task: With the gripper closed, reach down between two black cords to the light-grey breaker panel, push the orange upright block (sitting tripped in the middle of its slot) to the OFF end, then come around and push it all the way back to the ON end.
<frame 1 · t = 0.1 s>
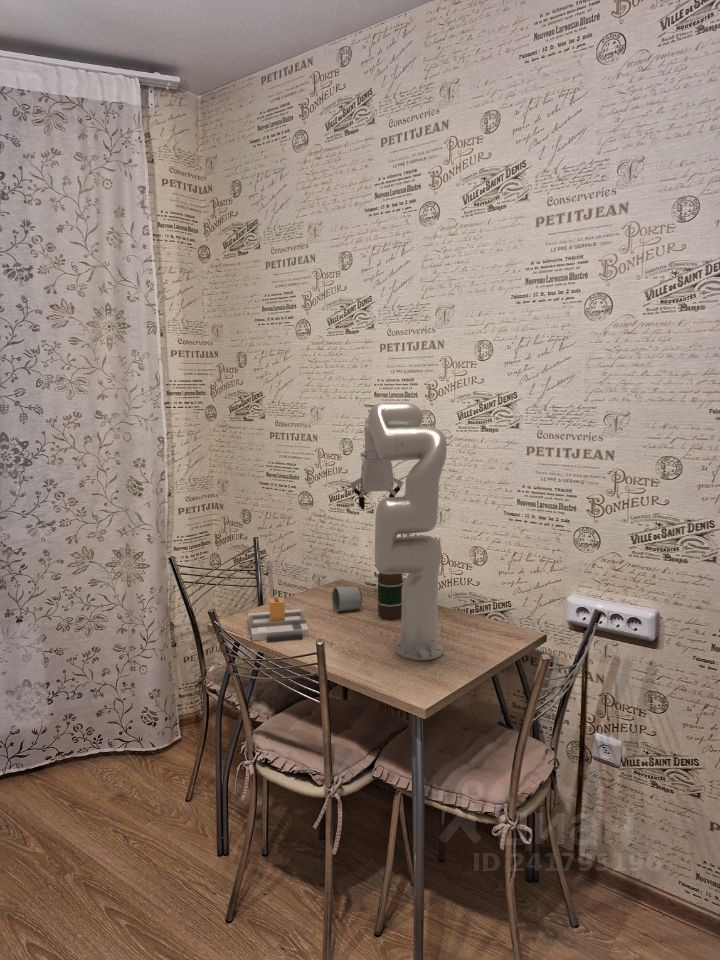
hand: (376, 508, 222), 31 cm above the table, fingers open, 9 cm apart
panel: (277, 627, 202), on the table
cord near: (284, 640, 192), on the table
orange upright block: (276, 609, 201), point 5 cm above the table, slide at 0.0 cm
ceramic mug: (345, 609, 219), on the table
beer bottle: (390, 617, 211), on the table
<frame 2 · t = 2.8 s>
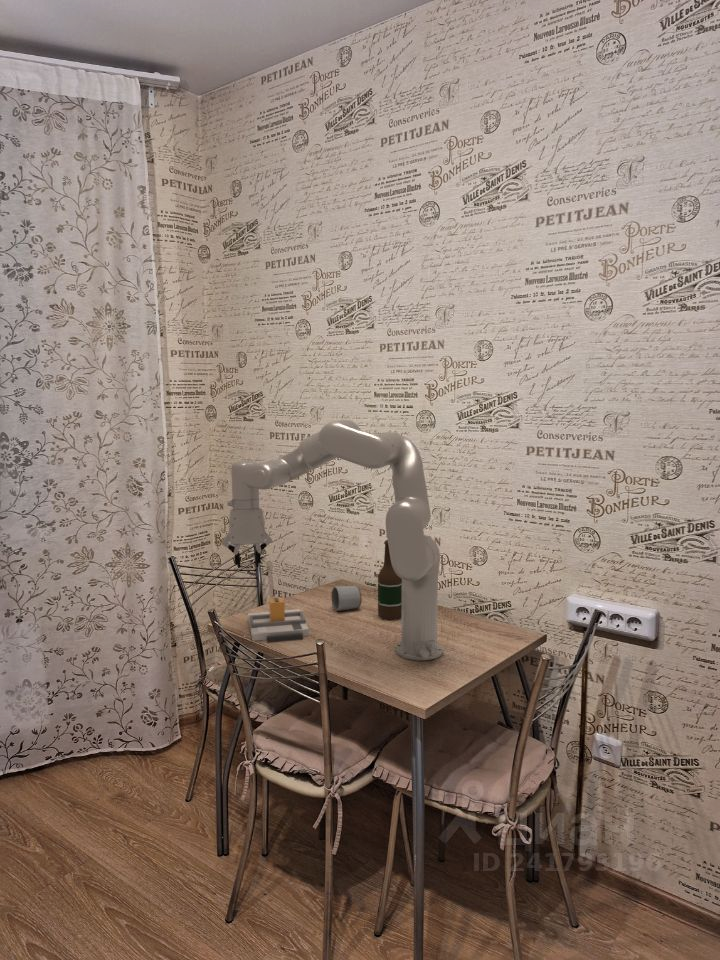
hand: (247, 565, 197), 19 cm above the table, fingers open, 4 cm apart
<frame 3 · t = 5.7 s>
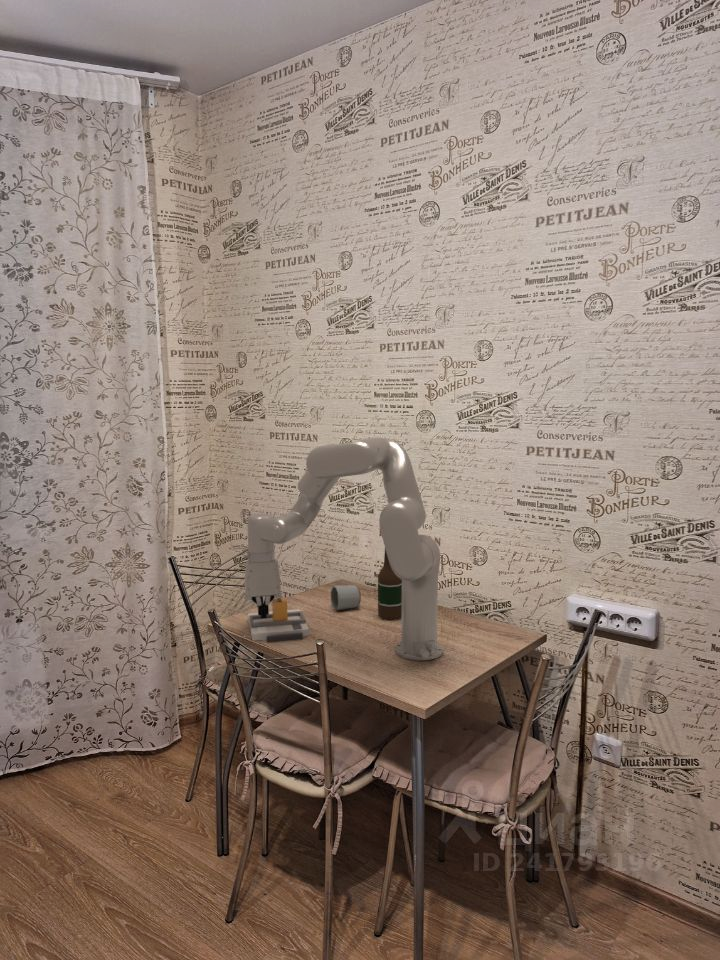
hand: (263, 617, 201), 4 cm above the table, fingers closed
orange upright block: (279, 609, 201), point 5 cm above the table, slide at -0.9 cm, touching gripper
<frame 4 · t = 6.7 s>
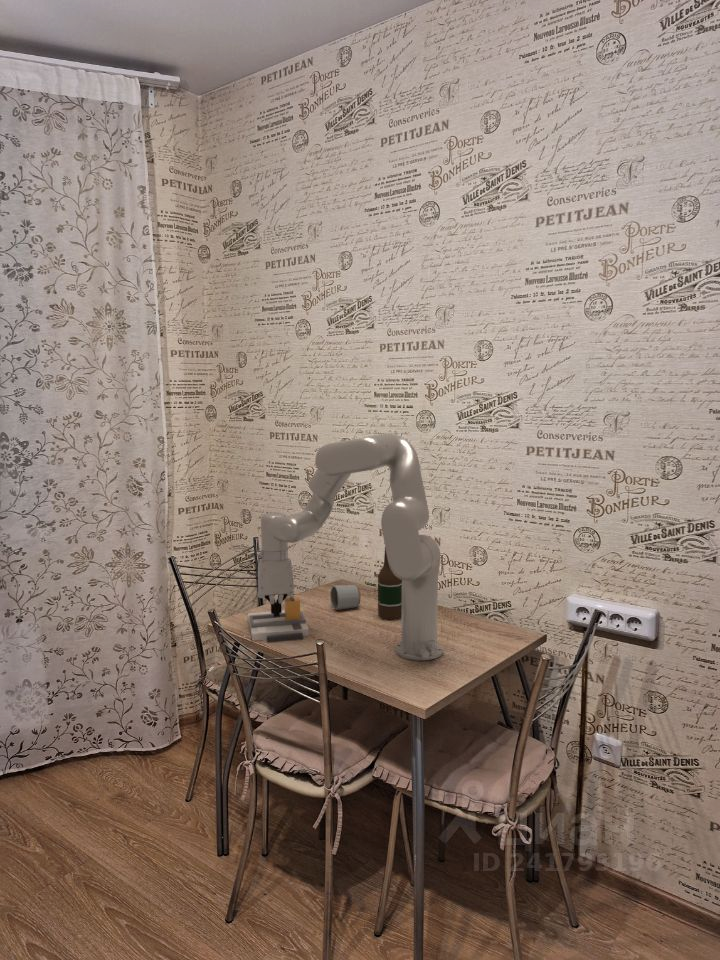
hand: (276, 615, 201), 4 cm above the table, fingers closed
orange upright block: (292, 608, 202), point 5 cm above the table, slide at -4.6 cm, touching gripper
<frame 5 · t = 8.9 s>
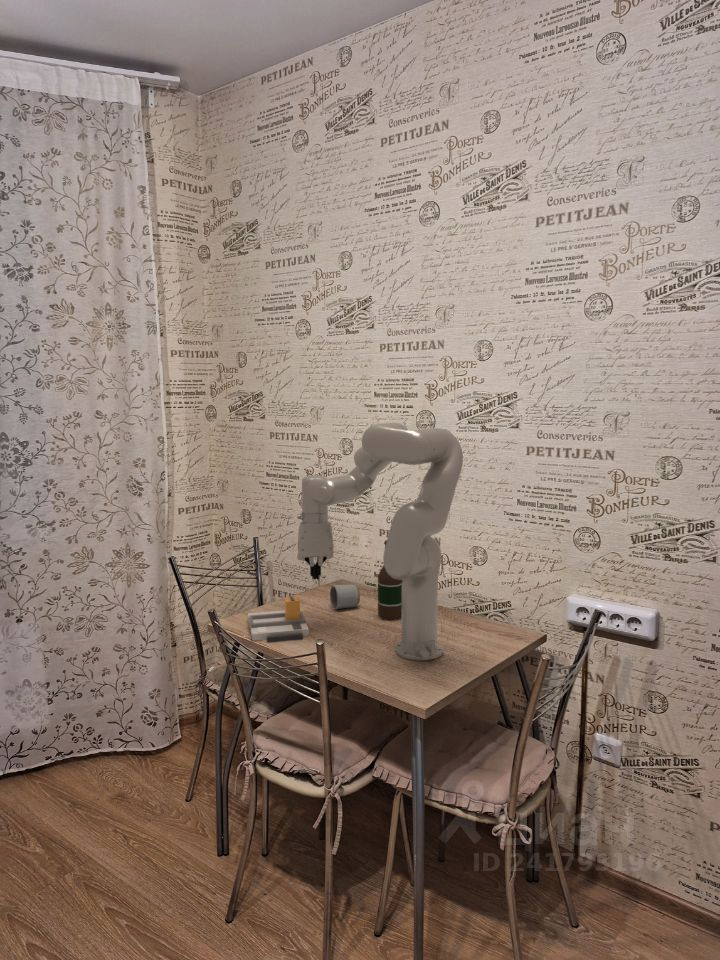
hand: (315, 578, 203), 14 cm above the table, fingers closed
orange upright block: (292, 608, 202), point 5 cm above the table, slide at -4.5 cm
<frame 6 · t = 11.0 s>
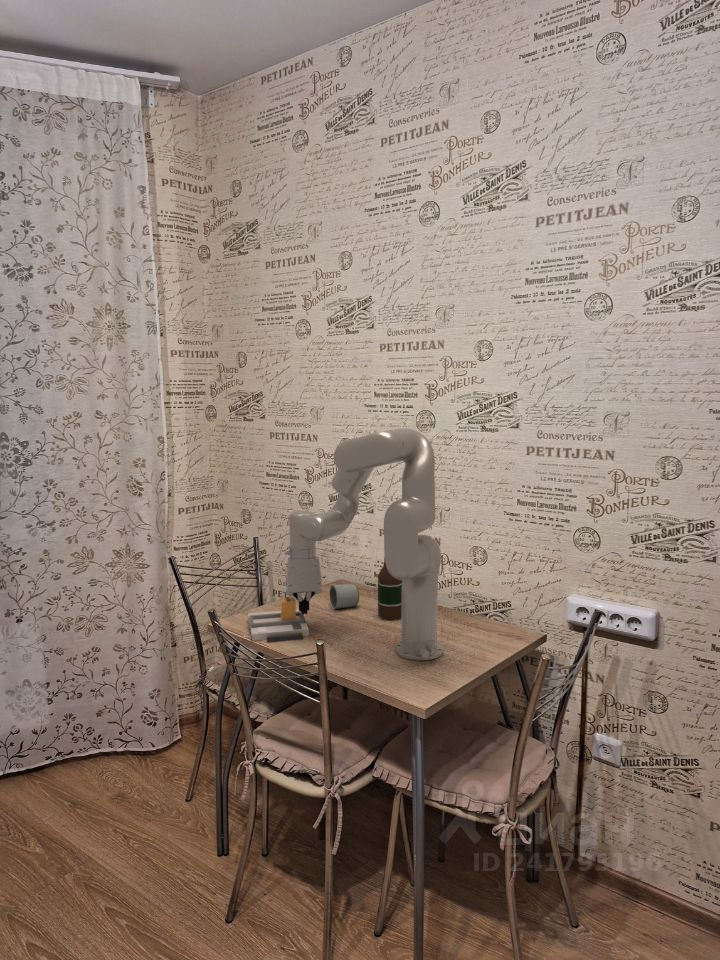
hand: (304, 612, 203), 4 cm above the table, fingers closed
orange upright block: (288, 608, 202), point 5 cm above the table, slide at -3.3 cm, touching gripper
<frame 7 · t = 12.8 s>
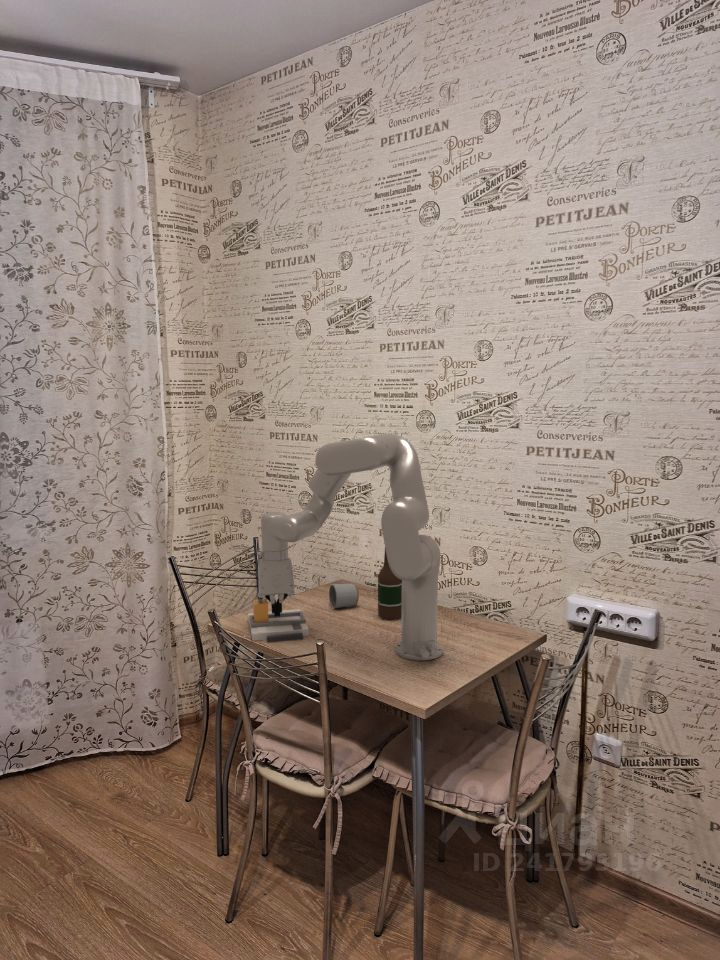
hand: (276, 615, 201), 4 cm above the table, fingers closed
orange upright block: (260, 611, 200), point 5 cm above the table, slide at 4.7 cm, touching gripper
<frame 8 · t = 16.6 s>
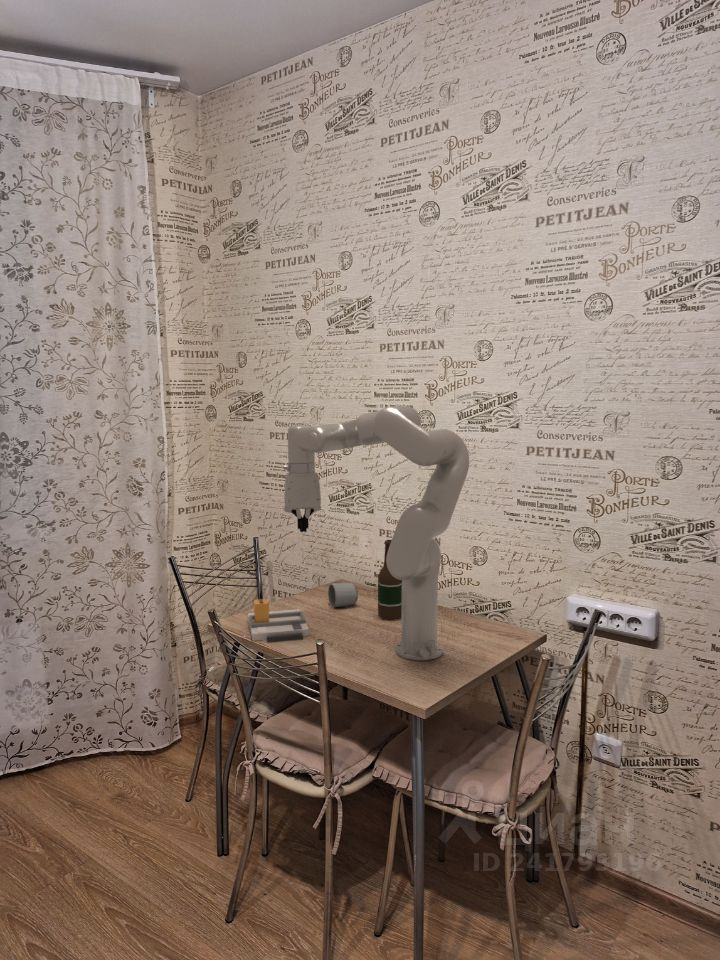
hand: (303, 531, 198), 29 cm above the table, fingers closed
orange upright block: (261, 611, 200), point 5 cm above the table, slide at 4.5 cm
at the end: orange upright block slide at 4.5 cm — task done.
